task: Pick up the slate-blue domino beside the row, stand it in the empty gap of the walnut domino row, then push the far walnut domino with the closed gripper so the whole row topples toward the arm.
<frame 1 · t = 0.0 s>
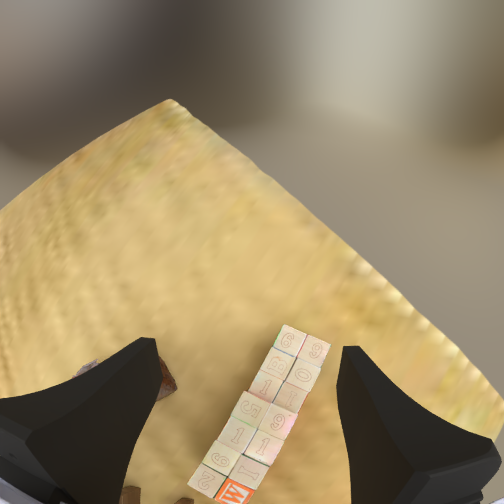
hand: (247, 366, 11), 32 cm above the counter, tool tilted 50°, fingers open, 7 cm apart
domino 2: (135, 501, 32), on the counter
food item: (132, 389, 41), on the counter
stack of blocks: (267, 417, 38), on the counter
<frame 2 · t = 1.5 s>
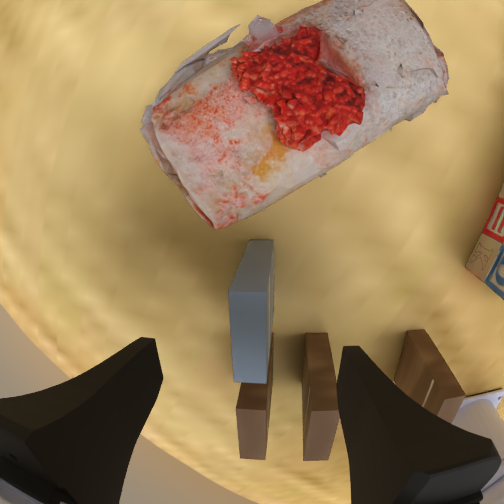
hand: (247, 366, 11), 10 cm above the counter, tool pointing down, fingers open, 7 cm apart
domino 2: (314, 359, 23), on the counter
food item: (293, 109, 18), on the counter
placed domino: (262, 275, 21), on the counter
domino 4: (409, 355, 22), on the counter
domino 1: (262, 358, 24), on the counter
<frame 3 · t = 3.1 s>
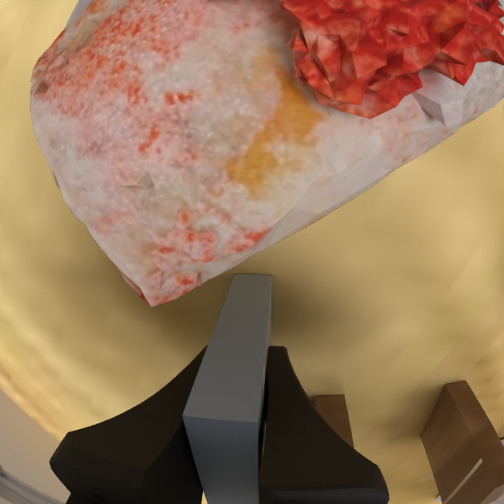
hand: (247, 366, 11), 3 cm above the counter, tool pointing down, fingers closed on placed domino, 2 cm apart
domino 2: (323, 424, 16), on the counter
food item: (304, 72, 11), on the counter
placed domino: (253, 324, 14), on the counter, touching gripper
domino 4: (442, 410, 15), on the counter
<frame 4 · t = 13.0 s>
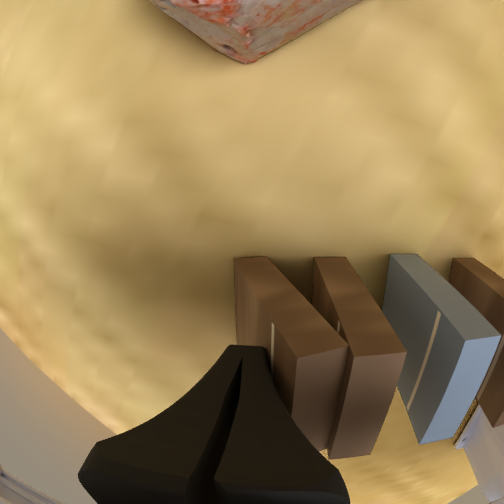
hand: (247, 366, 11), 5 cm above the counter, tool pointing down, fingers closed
domino 2: (326, 302, 16), on the counter
placed domino: (397, 297, 16), on the counter
domino 4: (455, 298, 15), on the counter
domino 1: (250, 303, 16), on the counter, tilted 20°, touching gripper
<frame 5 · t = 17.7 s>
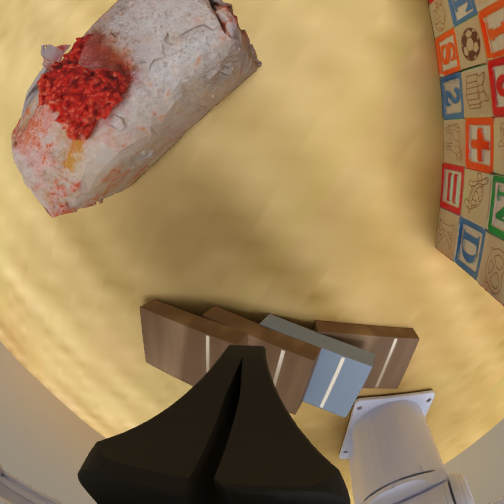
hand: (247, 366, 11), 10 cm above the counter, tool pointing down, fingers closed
domino 2: (206, 338, 22), point 1 cm above the counter, tilted 67°, touching placed domino
food item: (155, 101, 19), on the counter
stack of blocks: (472, 106, 16), on the counter
placed domino: (258, 346, 22), point 1 cm above the counter, tilted 68°, touching domino 2, domino 4
domino 4: (309, 352, 22), point 1 cm above the counter, tilted 90°, touching placed domino
domino 1: (149, 331, 23), point 1 cm above the counter, tilted 68°
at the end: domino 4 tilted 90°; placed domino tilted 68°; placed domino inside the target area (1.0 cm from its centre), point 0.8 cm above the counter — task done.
